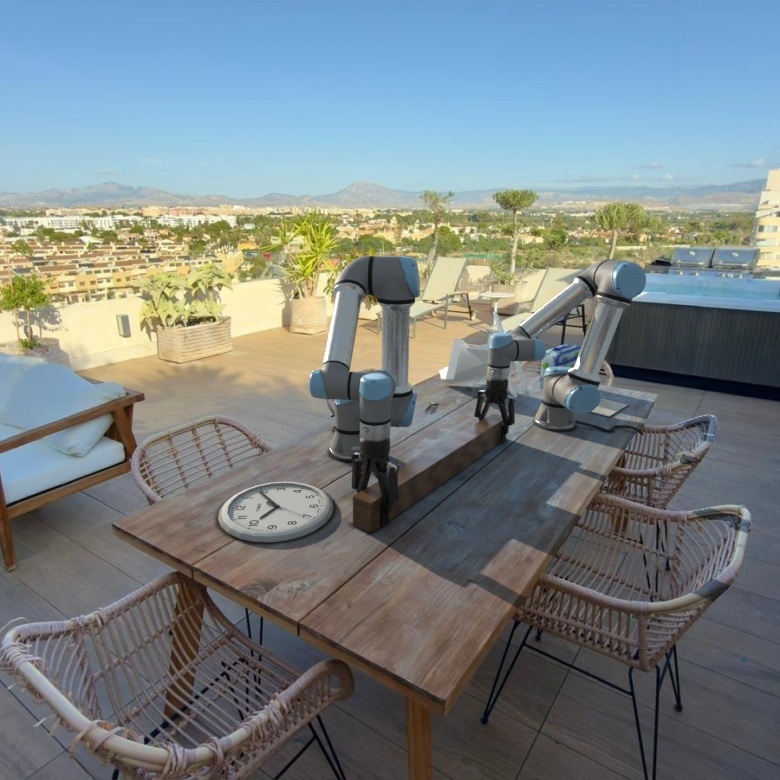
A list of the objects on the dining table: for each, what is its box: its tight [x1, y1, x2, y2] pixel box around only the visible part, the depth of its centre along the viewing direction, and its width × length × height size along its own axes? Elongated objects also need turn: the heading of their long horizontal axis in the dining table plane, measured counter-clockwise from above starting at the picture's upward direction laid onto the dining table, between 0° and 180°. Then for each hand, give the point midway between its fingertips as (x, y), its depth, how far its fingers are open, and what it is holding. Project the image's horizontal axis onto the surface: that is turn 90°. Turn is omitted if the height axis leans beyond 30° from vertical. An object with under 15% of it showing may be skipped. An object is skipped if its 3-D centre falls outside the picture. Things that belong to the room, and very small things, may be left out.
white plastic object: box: [438, 310, 531, 399], centre depth 245 cm, size 37×45×31 cm
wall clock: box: [217, 481, 335, 544], centre depth 139 cm, size 30×2×30 cm
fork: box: [425, 396, 439, 412], centre depth 222 cm, size 3×16×2 cm, turn 160°
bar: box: [352, 413, 503, 534], centre depth 161 cm, size 78×6×8 cm, turn 143°
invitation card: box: [590, 398, 629, 418], centre depth 226 cm, size 21×1×15 cm
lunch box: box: [539, 344, 582, 391], centre depth 247 cm, size 26×11×21 cm, turn 134°
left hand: (374, 519), depth 135 cm, fingers closed on bar, 6 cm apart
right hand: (492, 439), depth 188 cm, fingers open, 7 cm apart
